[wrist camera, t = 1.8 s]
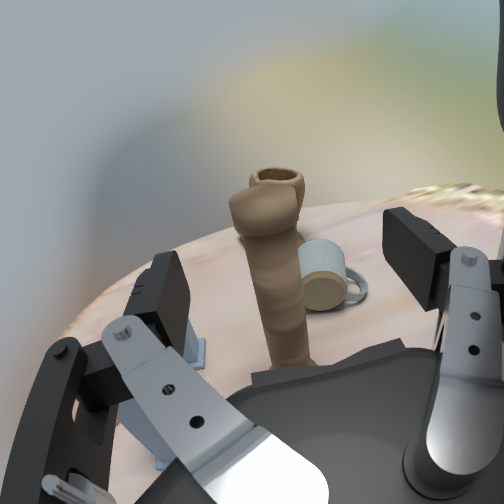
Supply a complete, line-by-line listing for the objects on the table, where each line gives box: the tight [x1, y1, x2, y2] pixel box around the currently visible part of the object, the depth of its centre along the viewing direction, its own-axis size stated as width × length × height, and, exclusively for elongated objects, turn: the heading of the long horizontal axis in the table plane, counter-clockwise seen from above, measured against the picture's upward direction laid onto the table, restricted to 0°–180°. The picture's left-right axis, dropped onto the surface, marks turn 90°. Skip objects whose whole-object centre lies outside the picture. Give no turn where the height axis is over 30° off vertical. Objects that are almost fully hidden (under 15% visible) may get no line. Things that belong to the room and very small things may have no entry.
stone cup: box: [237, 167, 305, 248], centre depth 57 cm, size 15×12×15 cm
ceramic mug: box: [298, 239, 368, 311], centre depth 43 cm, size 11×8×8 cm
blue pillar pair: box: [117, 272, 206, 470], centre depth 30 cm, size 19×5×13 cm, turn 5°
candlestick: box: [229, 184, 318, 370], centre depth 27 cm, size 6×6×22 cm
